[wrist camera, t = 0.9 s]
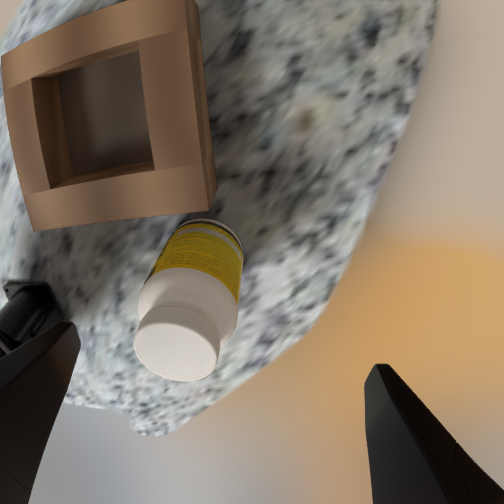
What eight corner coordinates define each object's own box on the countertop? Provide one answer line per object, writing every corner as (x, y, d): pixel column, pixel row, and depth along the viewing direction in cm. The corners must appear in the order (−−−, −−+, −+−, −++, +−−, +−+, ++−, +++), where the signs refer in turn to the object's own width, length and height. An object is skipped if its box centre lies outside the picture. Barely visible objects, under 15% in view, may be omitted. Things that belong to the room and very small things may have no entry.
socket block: (62, 209, 21) (33, 231, 17) (36, 56, 15) (0, 56, 12) (217, 188, 20) (208, 210, 17) (197, 5, 14) (183, -14, 11)
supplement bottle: (166, 213, 21) (110, 300, 12) (247, 219, 21) (239, 316, 12) (168, 280, 23) (129, 381, 15) (240, 287, 24) (231, 396, 15)
